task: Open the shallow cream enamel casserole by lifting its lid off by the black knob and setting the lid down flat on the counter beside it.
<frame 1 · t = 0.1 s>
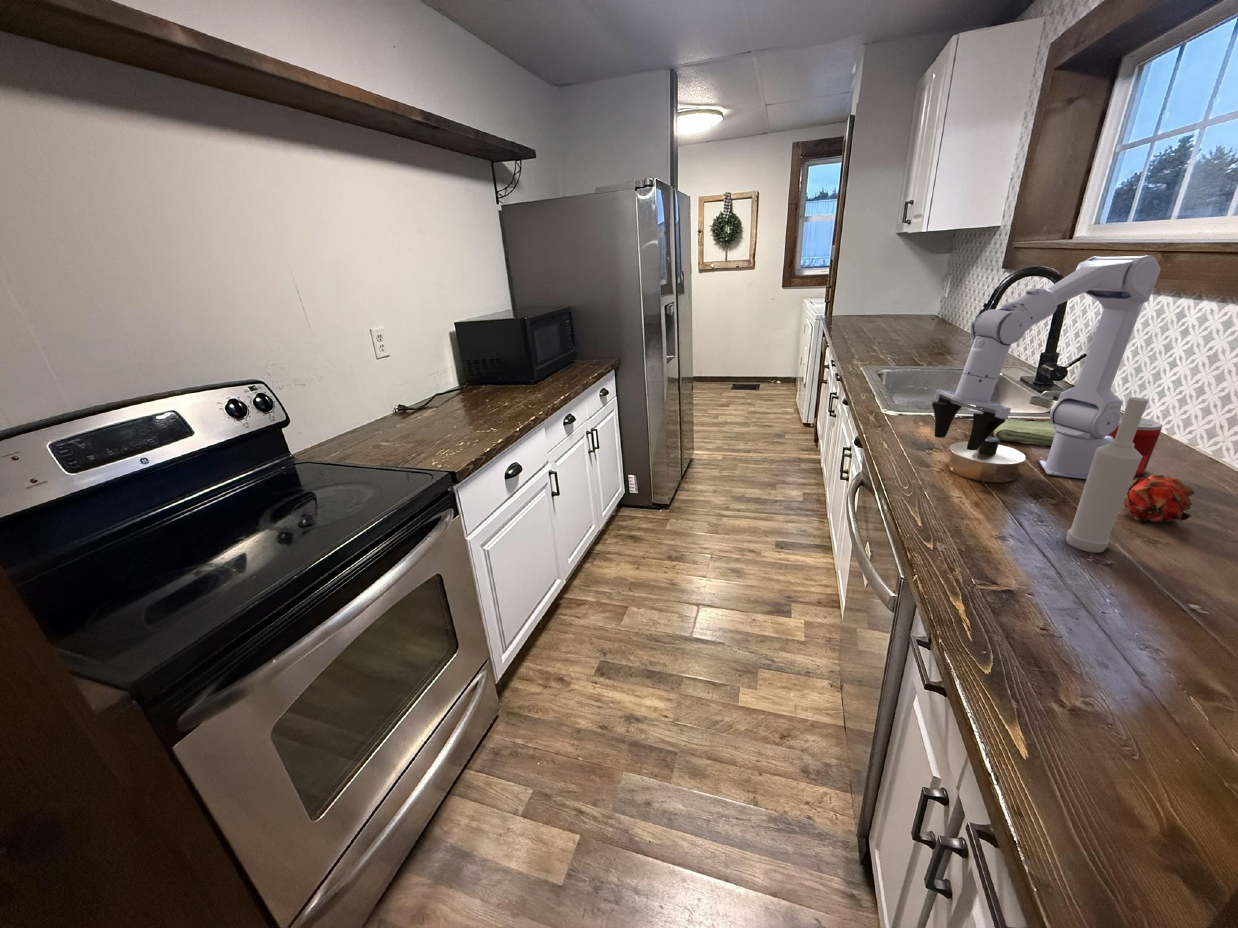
hand: (955, 443, 99), 11 cm above the worktop, tool pointing down, fingers open, 7 cm apart
washcloth: (1031, 438, 128), on the worktop
bottle: (1084, 545, 83), on the worktop
lid: (985, 454, 109), point 4 cm above the worktop, touching pot
canned food: (1117, 470, 109), on the worktop
dragon fruit: (1148, 519, 90), on the worktop
pot: (981, 471, 111), on the worktop
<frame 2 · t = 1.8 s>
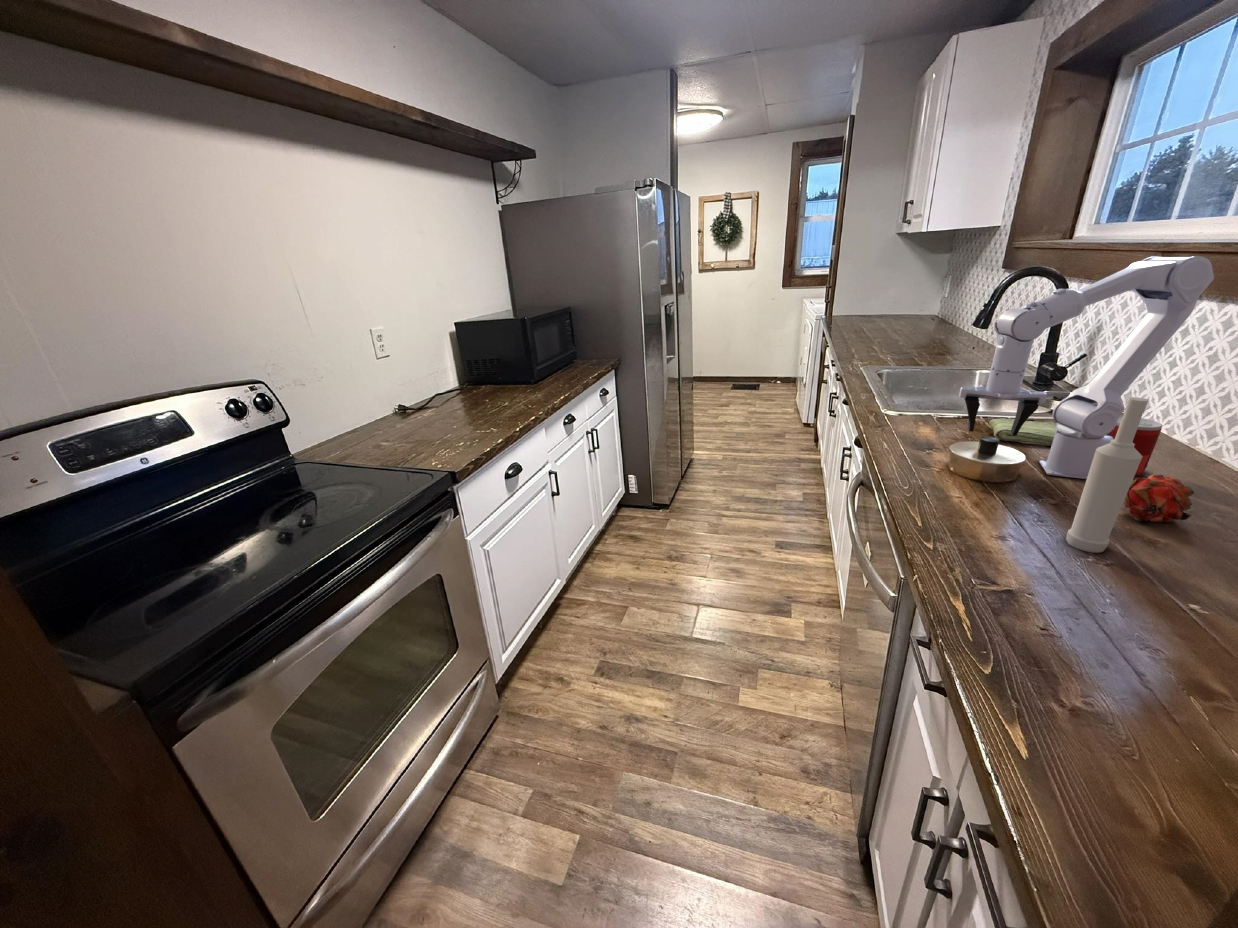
hand: (991, 432, 107), 9 cm above the worktop, tool pointing down, fingers open, 7 cm apart
nothing on the worktop moved.
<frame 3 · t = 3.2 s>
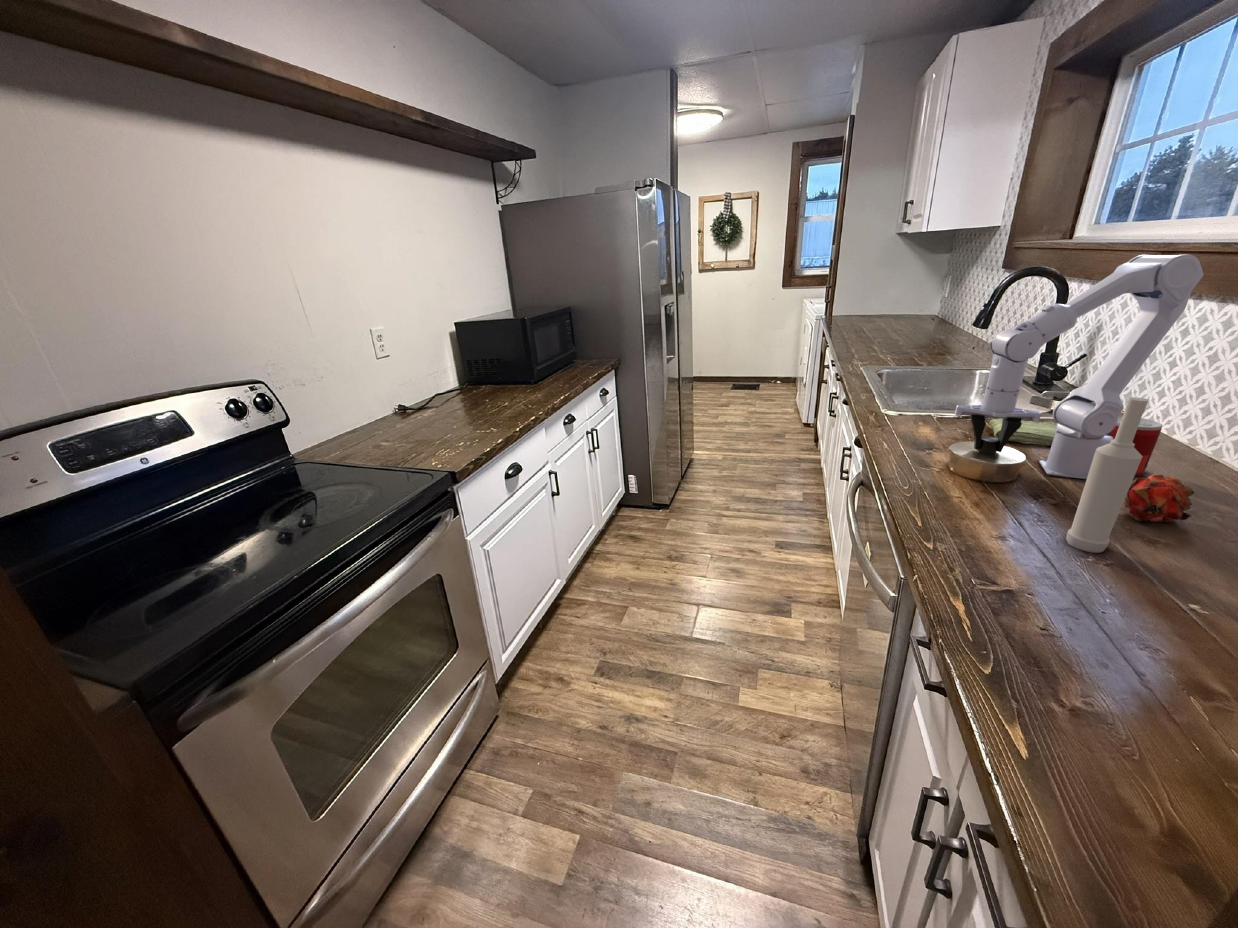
hand: (987, 449, 109), 5 cm above the worktop, tool pointing down, fingers closed on lid, 3 cm apart
lid: (985, 454, 109), point 4 cm above the worktop, touching gripper, pot
everything else where it was.
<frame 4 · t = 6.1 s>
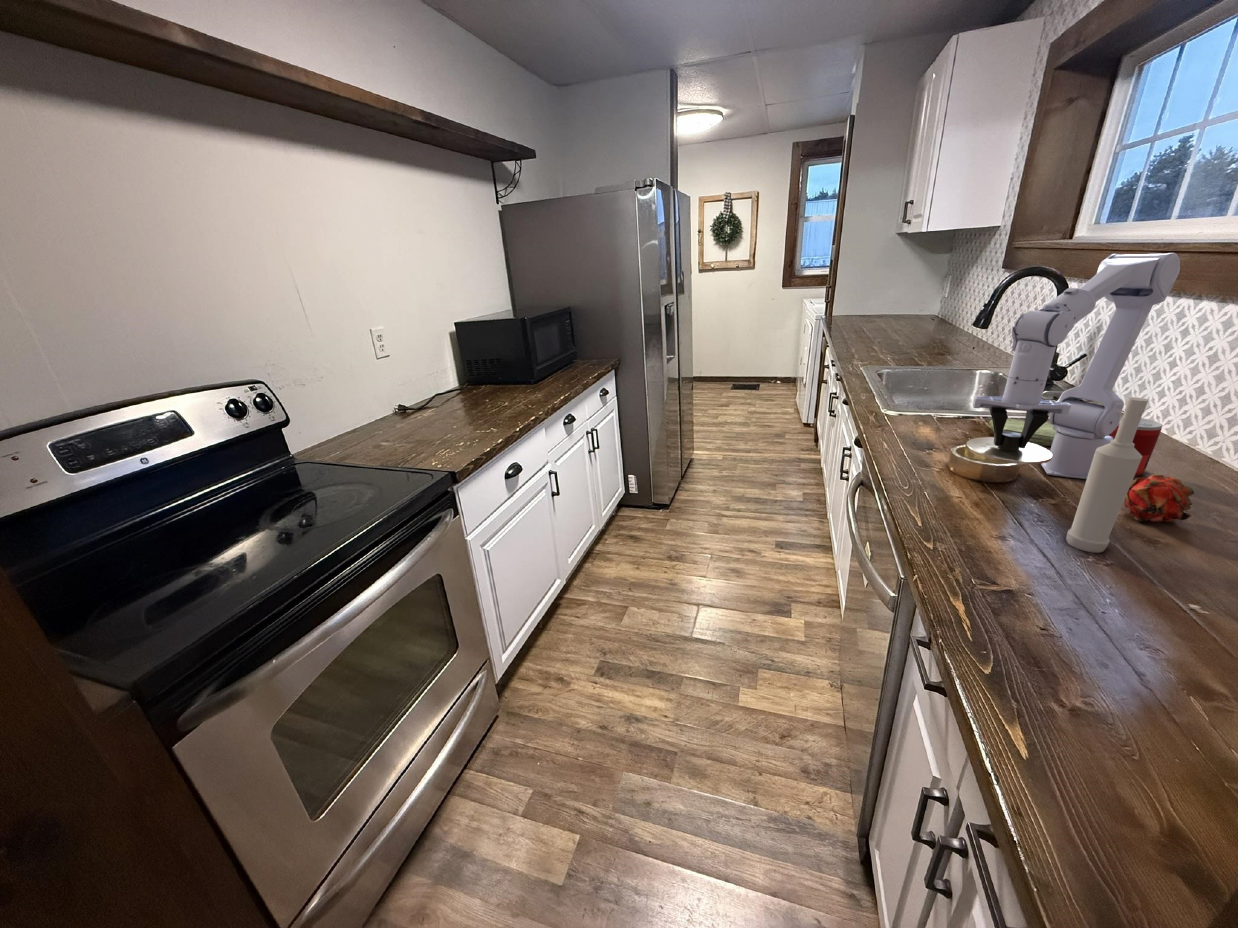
hand: (1008, 445, 98), 10 cm above the worktop, tool pointing down, fingers closed on lid, 3 cm apart
lid: (1007, 451, 98), point 9 cm above the worktop, touching gripper
everything else where it was.
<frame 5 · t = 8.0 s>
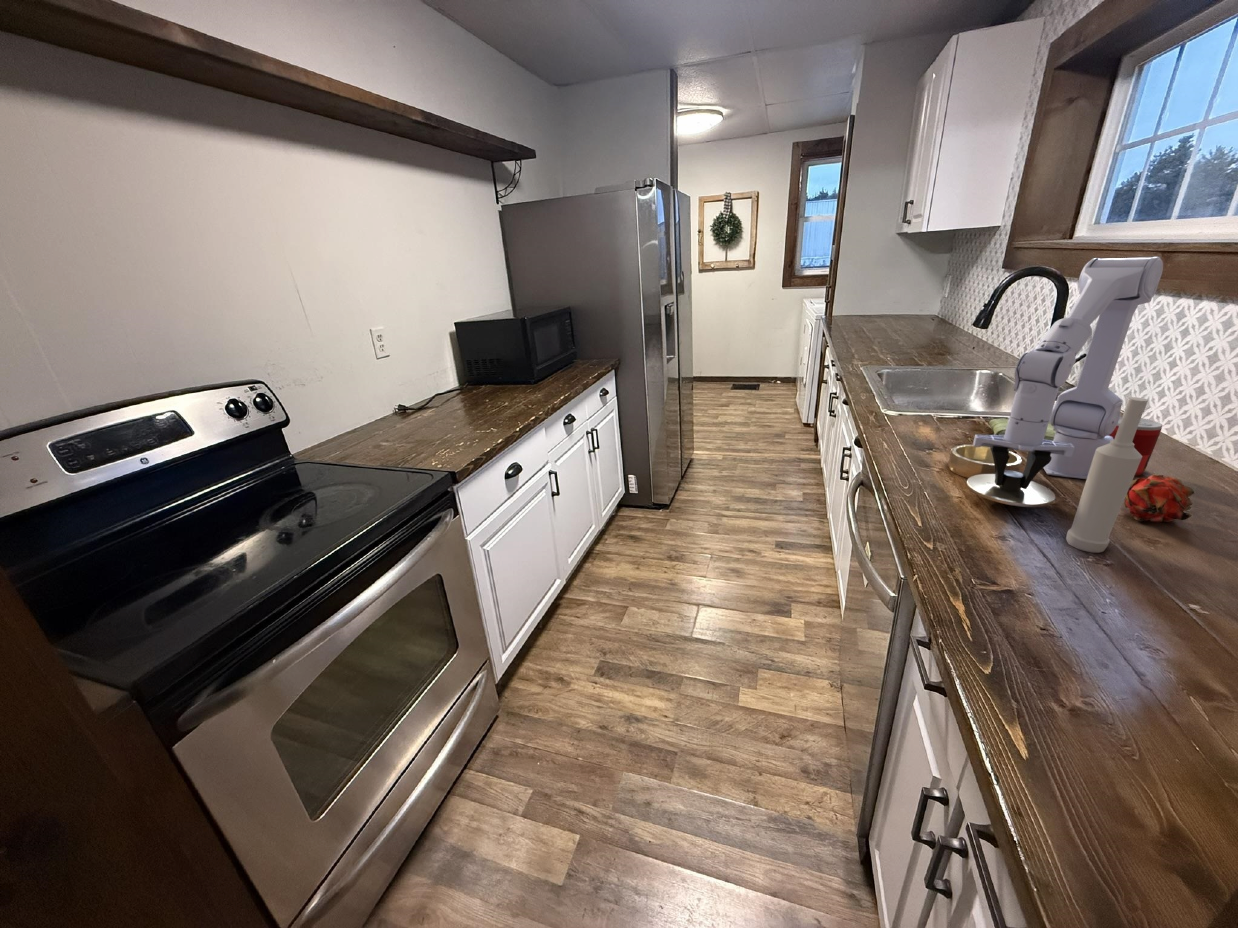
hand: (1010, 485, 96), 4 cm above the worktop, tool pointing down, fingers closed on lid, 3 cm apart
lid: (1008, 490, 96), point 3 cm above the worktop, touching gripper
everything else where it was.
when the fingers open (2 cm above the worktop, at t = 9.0 s): lid stays where it is, point 1 cm above the worktop.
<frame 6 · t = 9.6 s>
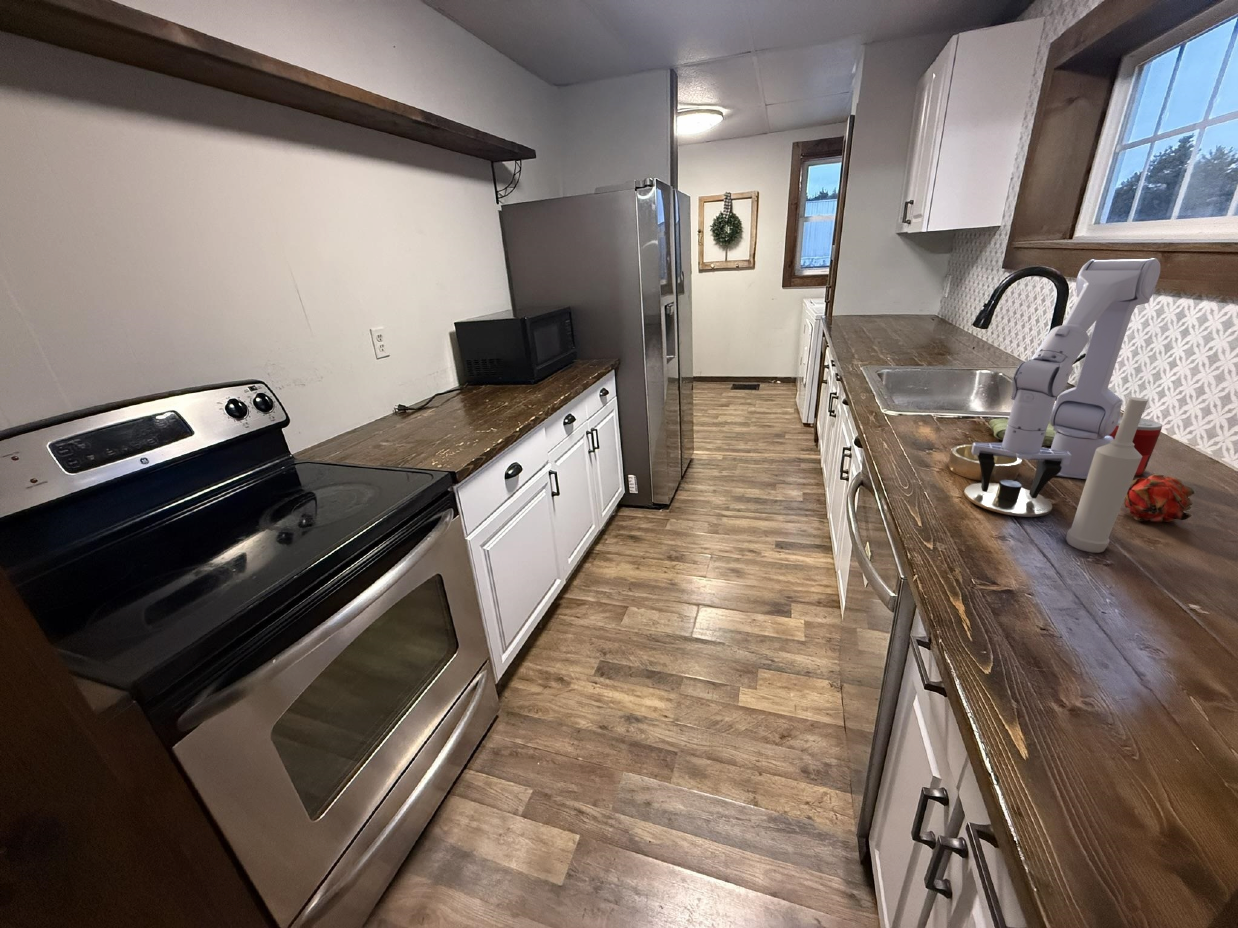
hand: (1007, 492, 96), 2 cm above the worktop, tool pointing down, fingers open, 7 cm apart
lid: (1006, 500, 97), point 1 cm above the worktop
everything else where it was.
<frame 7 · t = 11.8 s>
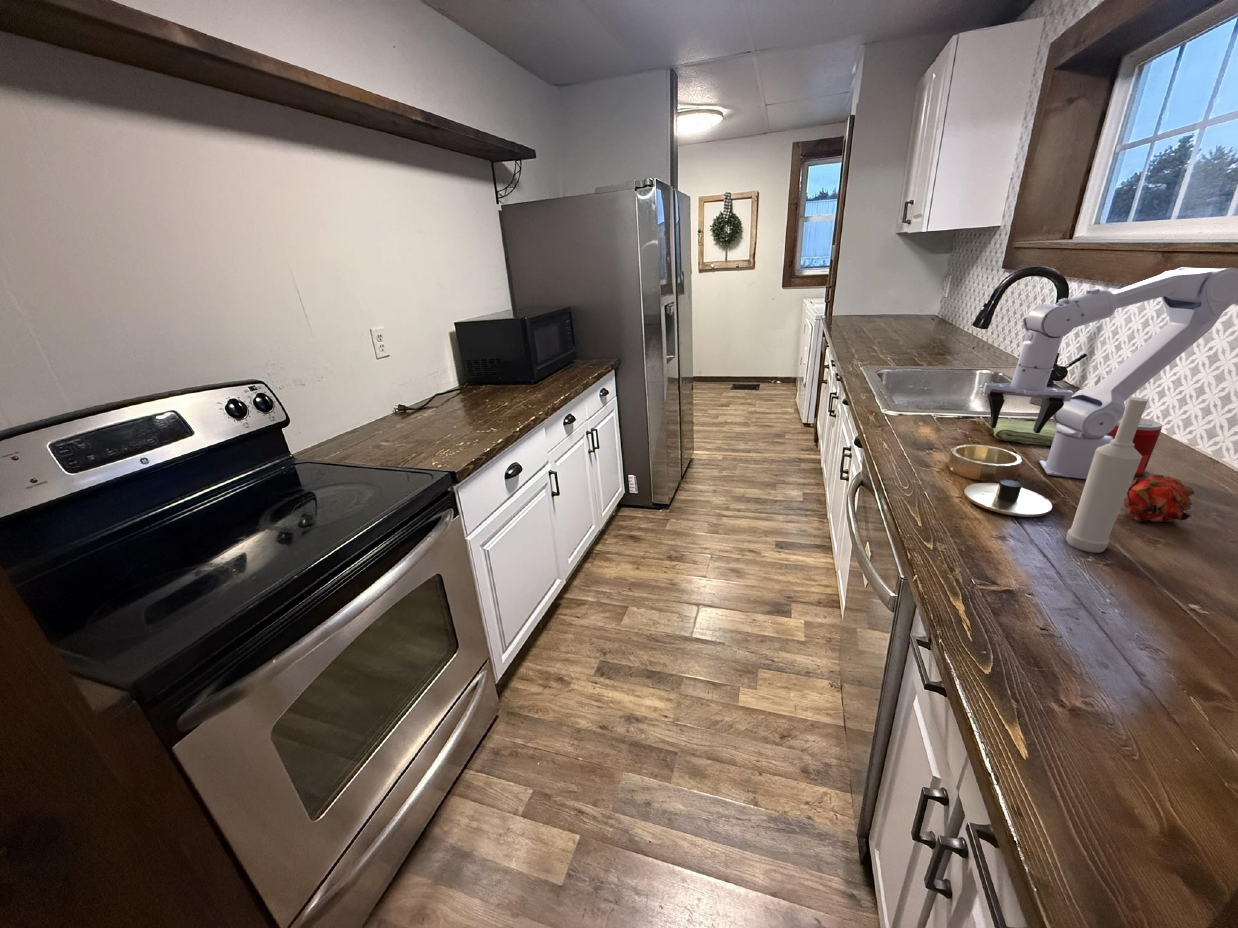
hand: (1014, 429, 106), 10 cm above the worktop, tool pointing down, fingers open, 7 cm apart
nothing on the worktop moved.
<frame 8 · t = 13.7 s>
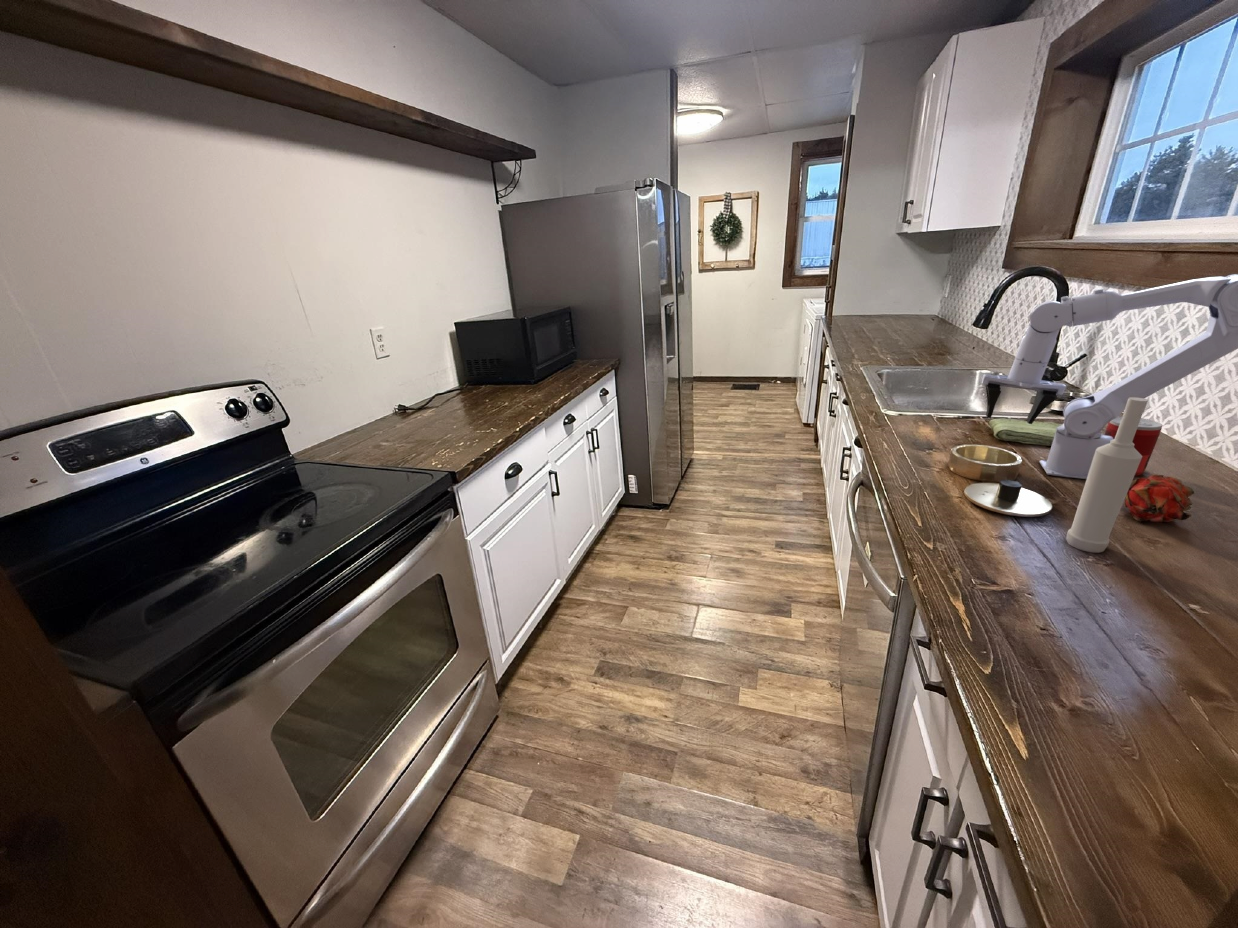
hand: (1008, 419, 112), 10 cm above the worktop, tool pointing down, fingers open, 7 cm apart
nothing on the worktop moved.
at the end: lid inside the target area (0.0 cm from its centre), point 0.6 cm above the worktop; lid tilted 0°; the gripper is holding nothing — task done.
